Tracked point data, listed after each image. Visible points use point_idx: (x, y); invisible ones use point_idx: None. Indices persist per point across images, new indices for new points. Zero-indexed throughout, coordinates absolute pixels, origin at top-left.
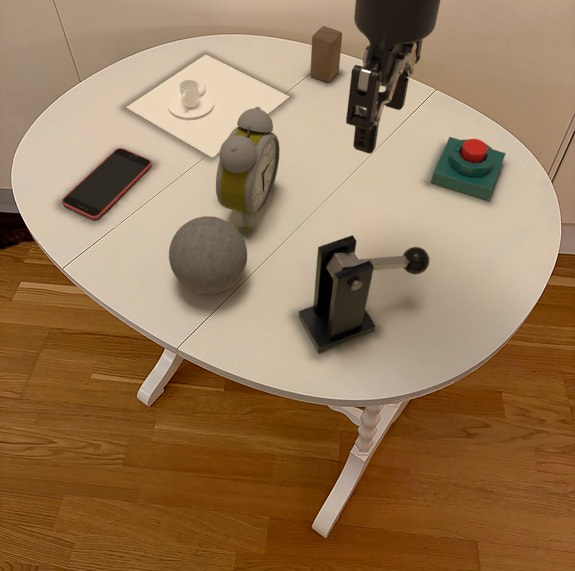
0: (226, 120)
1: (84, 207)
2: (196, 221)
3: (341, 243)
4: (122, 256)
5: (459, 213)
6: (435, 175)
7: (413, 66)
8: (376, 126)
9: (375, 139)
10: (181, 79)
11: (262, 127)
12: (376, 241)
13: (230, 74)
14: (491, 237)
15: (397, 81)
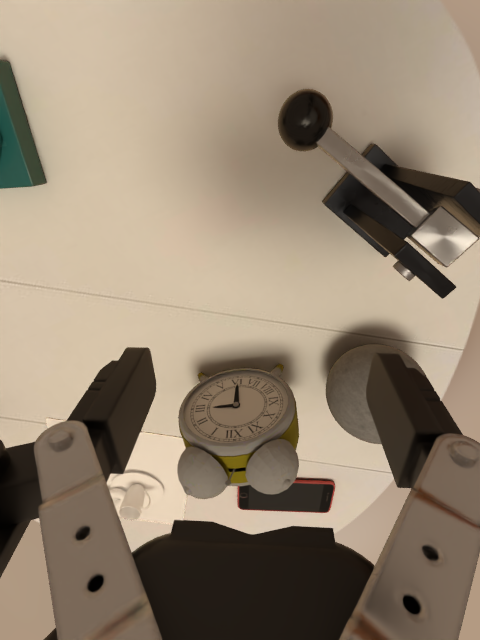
0: (133, 452)
1: (327, 496)
2: (376, 439)
3: (423, 265)
4: (366, 443)
5: (74, 105)
6: (35, 180)
7: (34, 449)
8: (439, 426)
9: (405, 380)
10: None
11: (213, 467)
12: (210, 212)
13: None
14: (86, 17)
15: (118, 437)
